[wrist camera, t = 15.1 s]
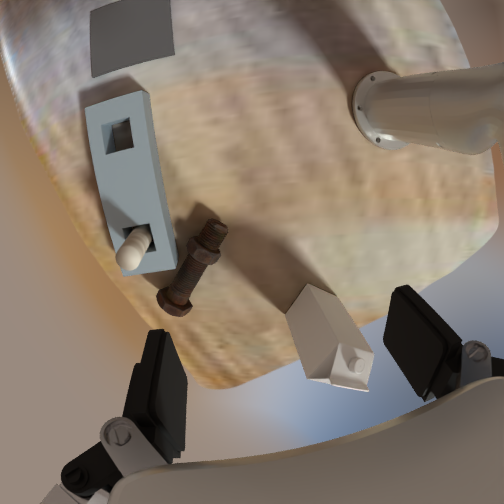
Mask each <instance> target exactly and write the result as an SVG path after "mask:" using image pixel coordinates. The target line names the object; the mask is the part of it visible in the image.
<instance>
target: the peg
mask: <svg viewBox="0 0 504 504" xmlns="http://www.w3.org/2000/svg"><path fill="white" fill-rule="evenodd" d="M152 239H153V235H152V231H151V227H150V223H148V224H143V225H137V226H136V227H135V228H134V230H133V231H132V232H131V233H130V235H129V236H128V237H127V239H126V240H125V241H124V243H123V244H122V245H121V247H120V248H119V250H118V251H117V253H116V262H117V264H118V265H119V266H120V267H121V268H122V269H124V270H128V271H131V270H134V269H136V268H137V267H138V265H139V263H140V262H141V260H142V258H143V256H144V254H145V252H146V250H147V248H148V246H149V244H150V243H151V241H152Z"/></svg>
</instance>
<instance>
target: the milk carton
mask: <svg viewBox="0 0 504 504" xmlns="http://www.w3.org/2000/svg"><path fill="white" fill-rule="evenodd" d="M285 317H286V320H287V323H288V326H289V328H290V331H291V334H292V337H293V340H294V343H295V346H296V349H297V351H298V354H299V357H300V360H301V363H302V366H303V369H304V371H305V374H306V377H307V379H310V380H314V381H318V382H323V383H328V384H331V385H333V386H338V387H344V388H349V389H354V390H360V391H367V392H369V389H368V387H367V382H368V379H369V375H370V371H371V367H372V363H373V358H374V353H373V351H372V350H371V348H370V346H369V345H368V343H367V341H366V340H365V338H364V337H363V335H362V334H361V332H360V330H359V329H358V327H357V326H356V324H355V323H354V321H353V319H352V318H351V316H350V315H349V313H348V312H347V310H346V309H345V307H344V305H343V304H342V302H341V301H340V299H339V298H338V297H337V296H335V295H332V294H330V293H328V292H326V291H324V290H322V289H319V288H317V287H315V286H313V285H311V284H308V283H307V285H306V286H305V287H304V289H303V290H302V292H301V293H300V295H299V296H298V297H297V299H296V300H295V302H294V303H293V304H292V306H291V307H290V309H289V310H288V311H287V313H286V314H285Z"/></svg>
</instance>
